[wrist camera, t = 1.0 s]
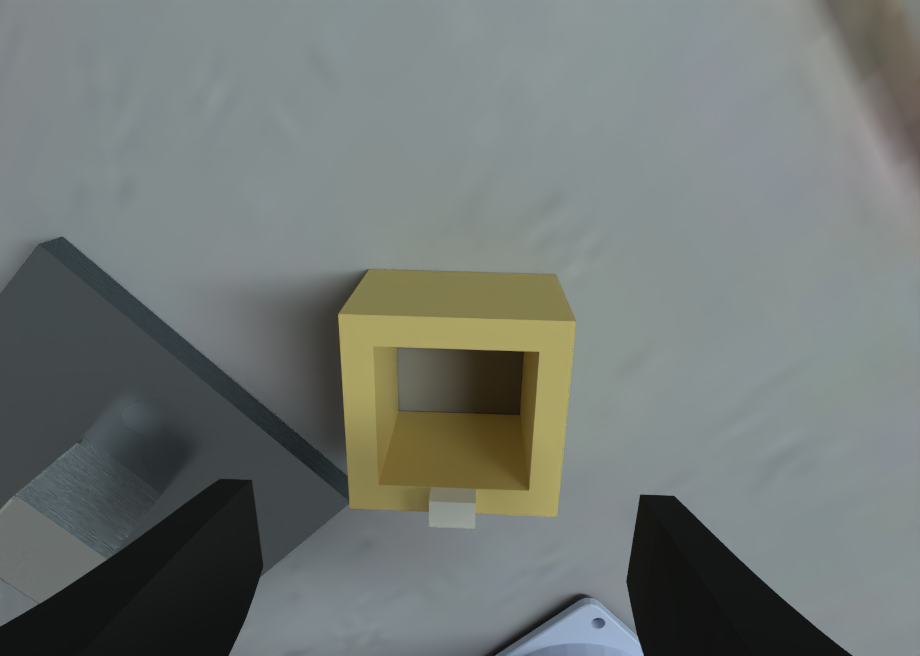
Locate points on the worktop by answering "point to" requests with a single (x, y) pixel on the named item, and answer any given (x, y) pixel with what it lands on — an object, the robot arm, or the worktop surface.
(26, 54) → the worktop surface
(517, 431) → the yellow square planter
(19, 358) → the grey square base plate
